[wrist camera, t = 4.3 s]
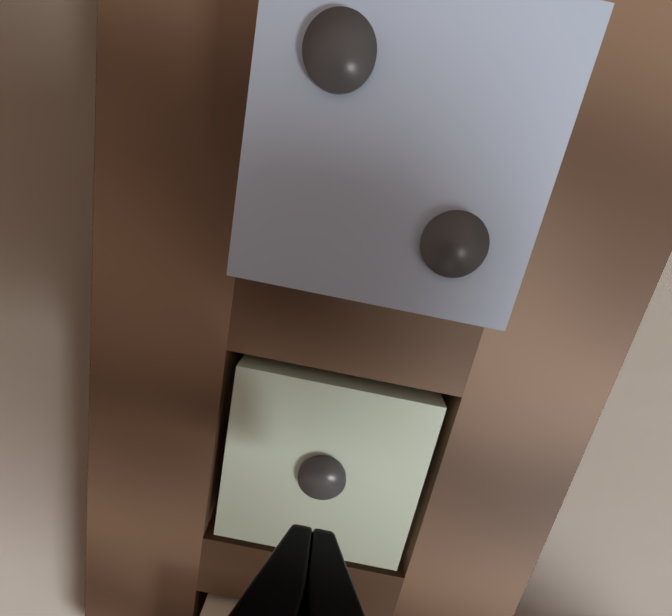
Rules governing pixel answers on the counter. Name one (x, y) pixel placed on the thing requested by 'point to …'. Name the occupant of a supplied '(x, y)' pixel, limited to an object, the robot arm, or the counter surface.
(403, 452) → the tile
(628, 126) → the board
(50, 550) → the counter surface
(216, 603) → the tile
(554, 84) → the tile
